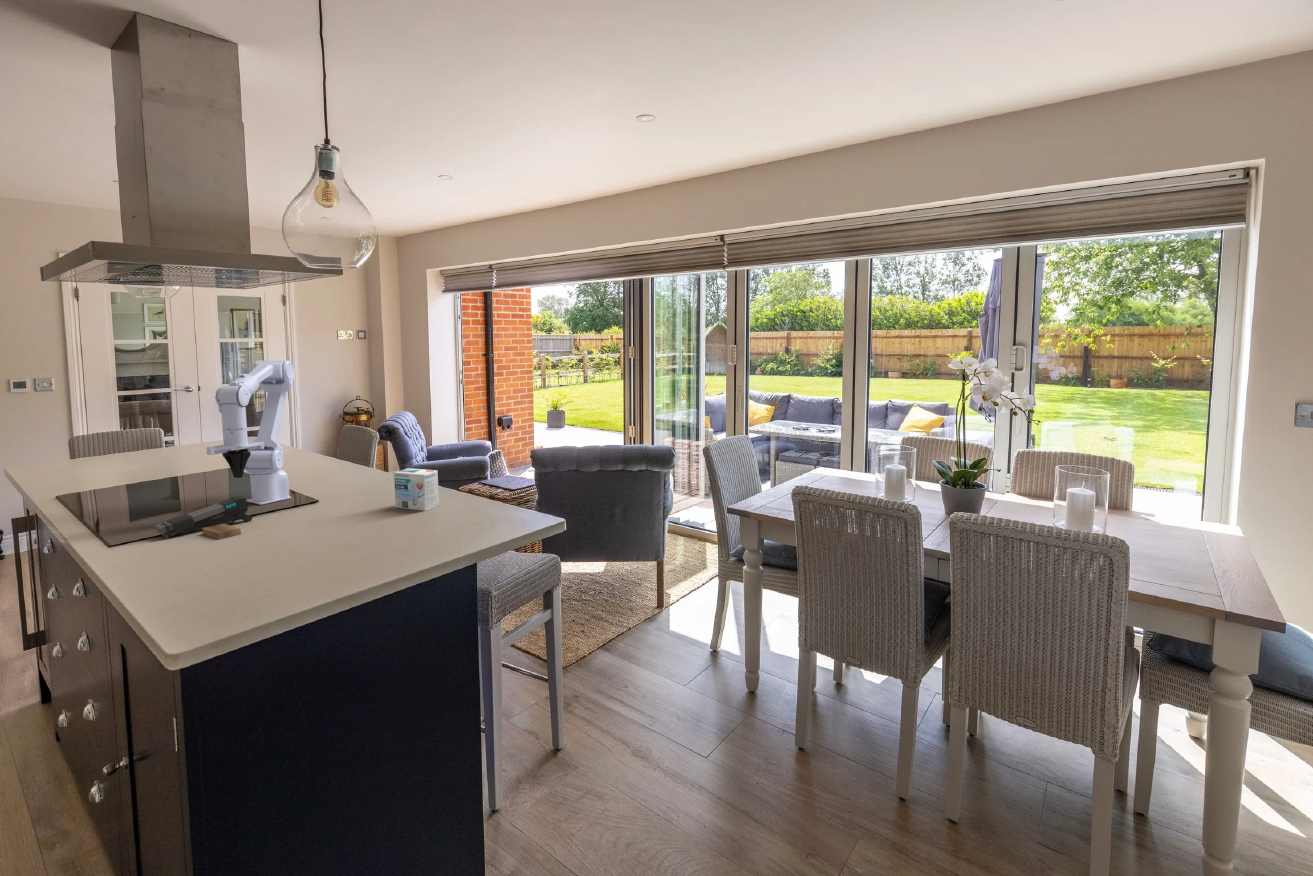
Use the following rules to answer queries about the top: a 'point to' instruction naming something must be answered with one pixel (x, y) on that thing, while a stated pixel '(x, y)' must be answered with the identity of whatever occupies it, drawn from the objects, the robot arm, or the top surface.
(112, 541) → the top surface
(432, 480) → the light bulb box
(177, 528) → the gun
